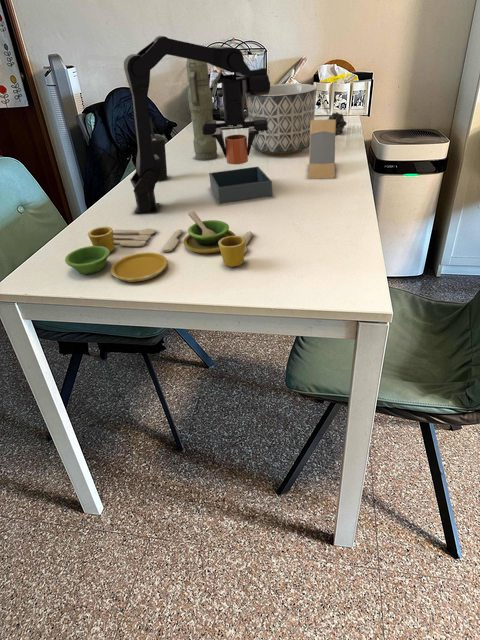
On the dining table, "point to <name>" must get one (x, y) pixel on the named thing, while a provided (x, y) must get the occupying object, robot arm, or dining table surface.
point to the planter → (284, 118)
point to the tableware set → (149, 265)
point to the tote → (240, 185)
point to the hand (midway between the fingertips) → (237, 156)
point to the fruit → (338, 122)
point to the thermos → (200, 108)
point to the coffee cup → (236, 149)
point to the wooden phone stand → (322, 149)
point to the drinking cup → (159, 151)
